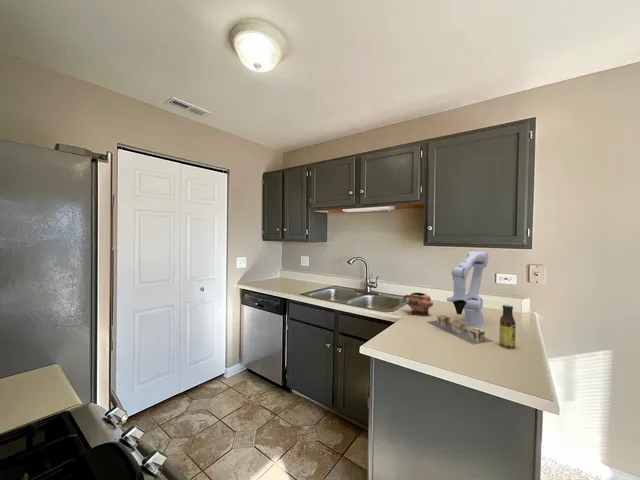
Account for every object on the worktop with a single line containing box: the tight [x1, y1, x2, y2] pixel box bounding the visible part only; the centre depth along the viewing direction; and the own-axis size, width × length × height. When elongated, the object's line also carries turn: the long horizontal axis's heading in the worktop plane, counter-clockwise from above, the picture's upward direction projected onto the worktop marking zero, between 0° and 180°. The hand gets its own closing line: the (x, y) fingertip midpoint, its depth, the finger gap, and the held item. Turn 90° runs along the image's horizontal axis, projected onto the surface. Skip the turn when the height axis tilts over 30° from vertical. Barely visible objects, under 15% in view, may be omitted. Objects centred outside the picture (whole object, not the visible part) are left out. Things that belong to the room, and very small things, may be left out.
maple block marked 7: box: [468, 327, 486, 342], centre depth 134 cm, size 5×5×5 cm
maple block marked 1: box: [436, 313, 451, 326], centre depth 156 cm, size 5×5×5 cm
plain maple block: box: [451, 320, 467, 334], centre depth 145 cm, size 5×5×5 cm
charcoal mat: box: [426, 320, 494, 345], centre depth 147 cm, size 13×34×1 cm, turn 17°
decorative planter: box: [403, 292, 434, 317], centre depth 178 cm, size 20×12×14 cm, turn 51°
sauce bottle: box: [498, 304, 517, 350], centre depth 127 cm, size 6×6×20 cm
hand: (459, 314), depth 145 cm, fingers closed
